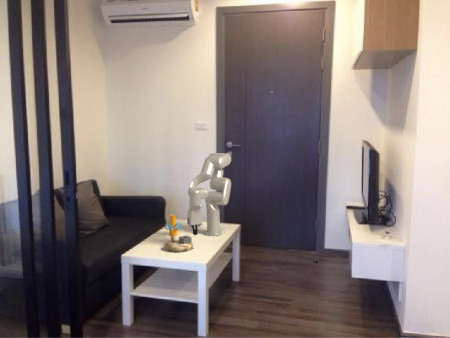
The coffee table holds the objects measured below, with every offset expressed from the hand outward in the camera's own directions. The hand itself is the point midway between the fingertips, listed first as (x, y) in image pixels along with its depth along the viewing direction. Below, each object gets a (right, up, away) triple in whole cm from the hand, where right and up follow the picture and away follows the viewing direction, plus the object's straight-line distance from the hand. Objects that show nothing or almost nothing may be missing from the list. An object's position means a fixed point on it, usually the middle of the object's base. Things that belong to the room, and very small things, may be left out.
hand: (195, 234), depth 289 cm
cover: (-6, -5, -4) cm, 9 cm away
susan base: (-10, -8, -7) cm, 15 cm away
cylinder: (-18, -4, +25) cm, 31 cm away
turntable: (-10, -8, -7) cm, 15 cm away
